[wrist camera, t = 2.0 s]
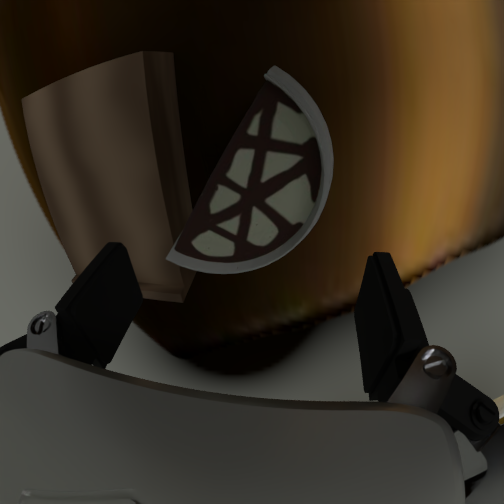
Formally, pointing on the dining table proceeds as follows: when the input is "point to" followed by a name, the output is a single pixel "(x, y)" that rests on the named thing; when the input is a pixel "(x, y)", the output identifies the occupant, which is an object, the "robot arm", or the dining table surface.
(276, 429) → the robot arm
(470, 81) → the dining table surface
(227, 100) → the dining table surface
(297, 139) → the food container
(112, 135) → the brown rectangular block
